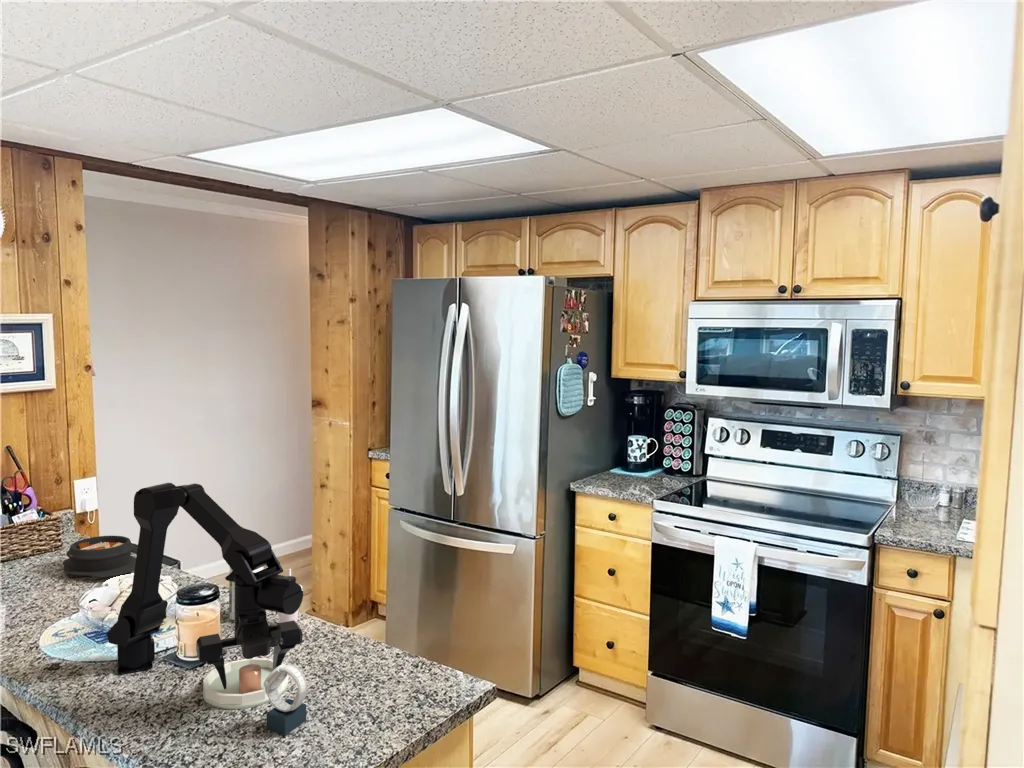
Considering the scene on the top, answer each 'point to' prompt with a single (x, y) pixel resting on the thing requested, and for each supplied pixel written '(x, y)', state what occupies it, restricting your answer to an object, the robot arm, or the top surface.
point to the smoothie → (287, 617)
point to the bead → (249, 678)
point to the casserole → (100, 557)
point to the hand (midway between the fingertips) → (250, 682)
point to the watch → (288, 711)
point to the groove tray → (230, 695)
